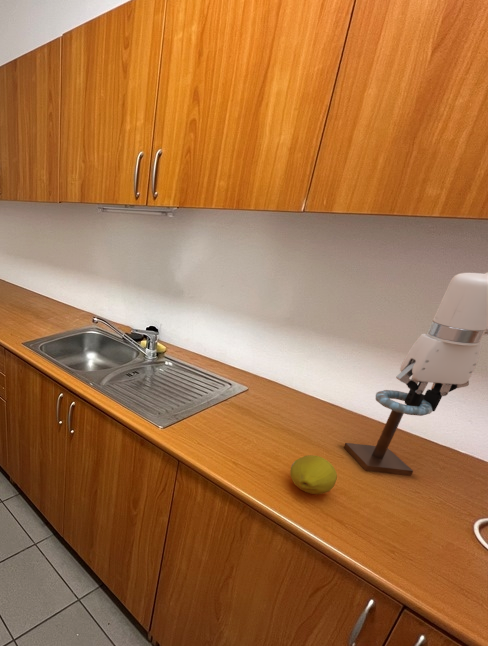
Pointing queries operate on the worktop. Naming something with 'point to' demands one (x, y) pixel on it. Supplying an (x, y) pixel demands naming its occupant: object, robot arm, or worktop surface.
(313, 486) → the lemon
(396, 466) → the peg stand
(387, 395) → the ring
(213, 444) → the worktop surface
